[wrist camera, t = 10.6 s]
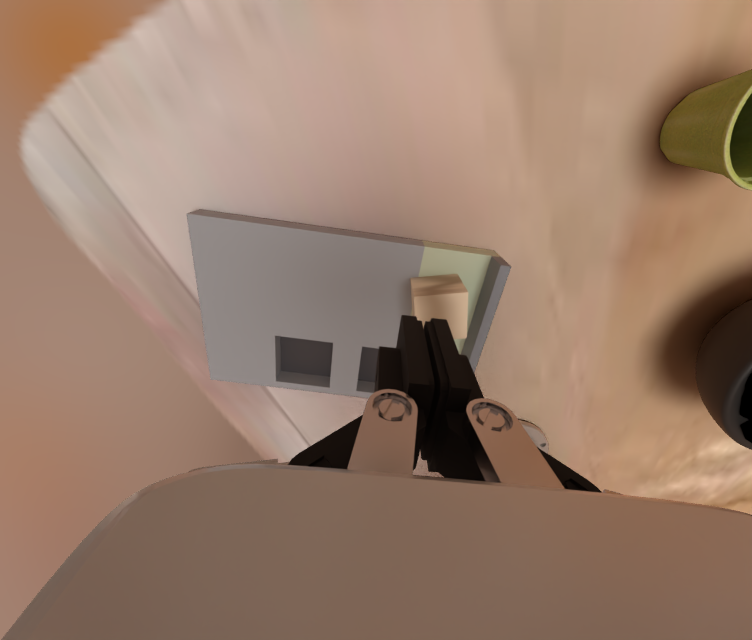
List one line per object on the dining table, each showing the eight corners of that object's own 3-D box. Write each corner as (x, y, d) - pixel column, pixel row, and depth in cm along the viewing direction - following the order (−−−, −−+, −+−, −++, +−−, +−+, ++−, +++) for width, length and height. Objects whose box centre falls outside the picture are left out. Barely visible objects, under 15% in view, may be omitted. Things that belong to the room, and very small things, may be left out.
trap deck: (493, 250, 35) (511, 266, 30) (448, 395, 45) (455, 425, 40) (199, 209, 34) (168, 219, 29) (219, 367, 44) (198, 395, 39)
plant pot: (654, 71, 27) (758, 41, 20) (774, 52, 27) (931, 13, 19) (628, 187, 32) (705, 199, 24) (730, 174, 31) (844, 182, 23)
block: (457, 273, 34) (468, 292, 29) (456, 315, 36) (466, 338, 32) (410, 277, 34) (413, 296, 30) (412, 318, 36) (416, 342, 32)
